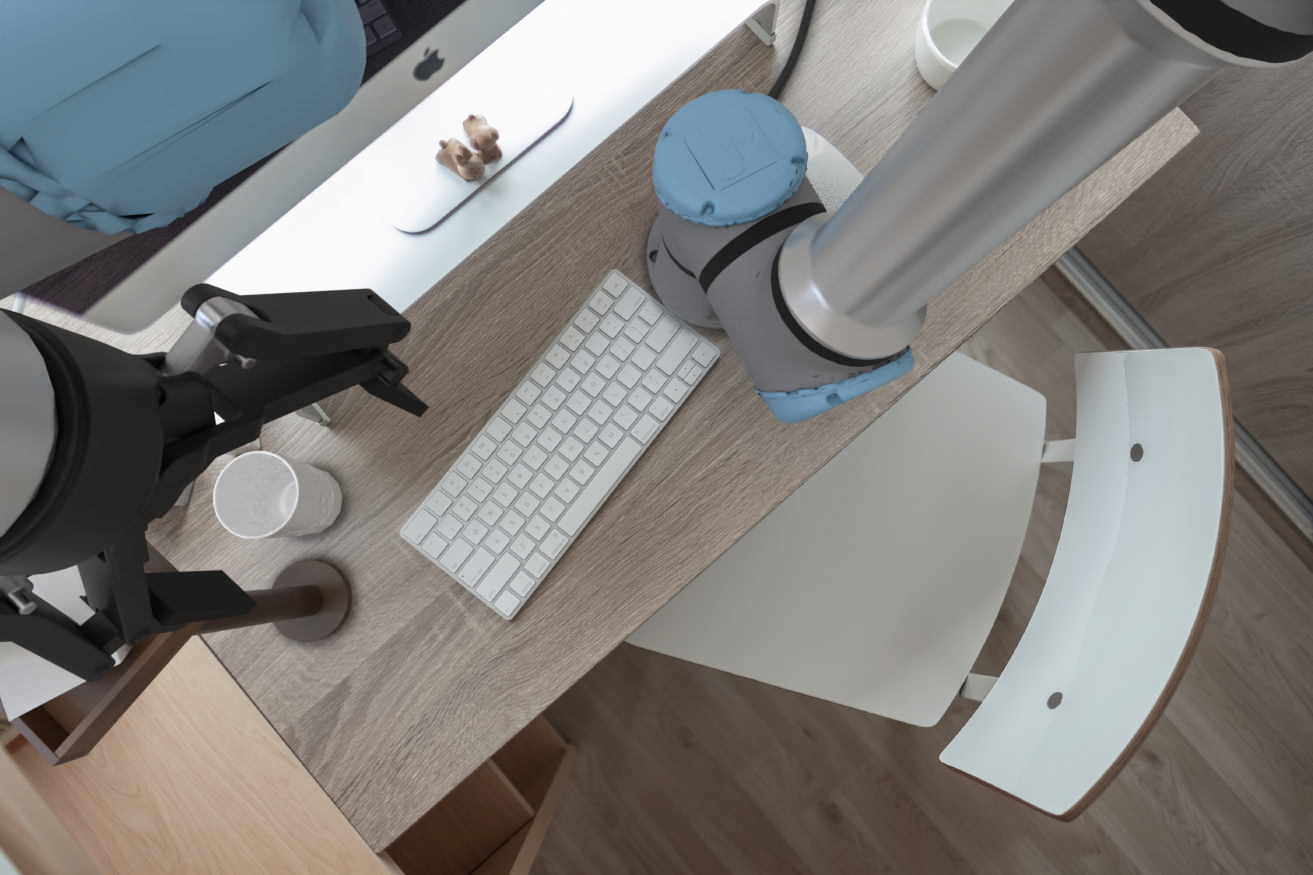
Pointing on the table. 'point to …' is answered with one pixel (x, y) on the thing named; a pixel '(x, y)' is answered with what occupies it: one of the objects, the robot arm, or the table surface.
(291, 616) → the walnut post
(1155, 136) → the table surface
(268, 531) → the white cup
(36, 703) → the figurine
